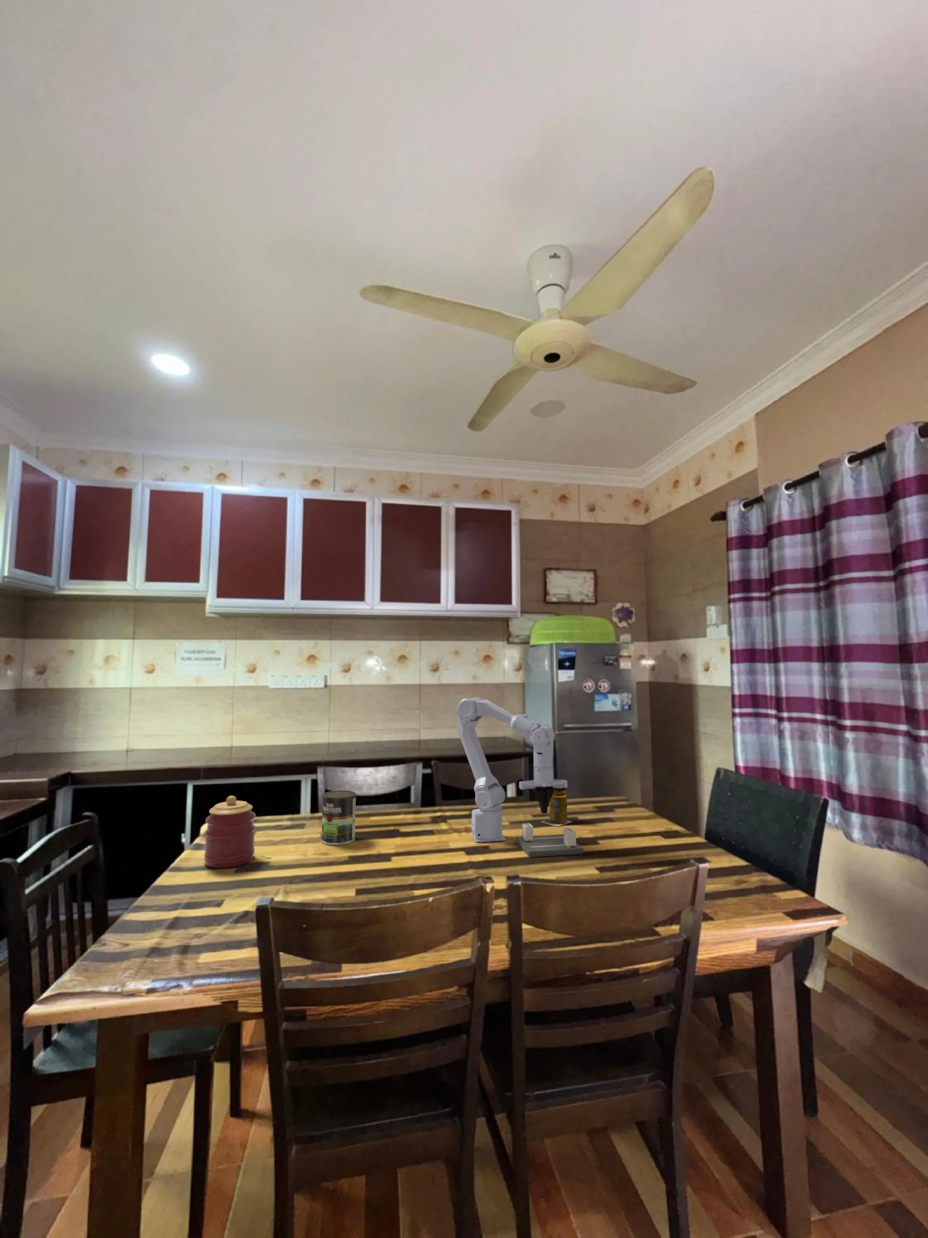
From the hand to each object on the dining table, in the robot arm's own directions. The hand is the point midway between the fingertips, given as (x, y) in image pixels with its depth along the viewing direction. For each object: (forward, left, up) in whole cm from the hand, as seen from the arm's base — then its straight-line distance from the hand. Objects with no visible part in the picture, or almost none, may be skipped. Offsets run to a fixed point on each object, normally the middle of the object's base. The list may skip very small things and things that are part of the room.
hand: (543, 812), depth 166 cm
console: (+1, -1, -10) cm, 10 cm away
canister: (-90, +4, -10) cm, 91 cm away
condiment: (+12, +24, -10) cm, 29 cm away
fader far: (-4, +2, -8) cm, 10 cm away
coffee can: (-61, +17, -10) cm, 64 cm away
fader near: (+6, -5, -8) cm, 11 cm away
